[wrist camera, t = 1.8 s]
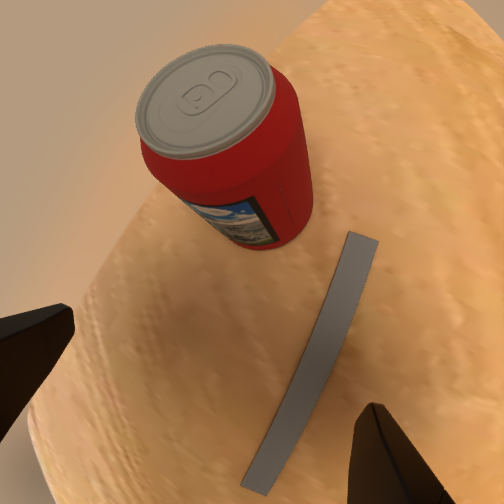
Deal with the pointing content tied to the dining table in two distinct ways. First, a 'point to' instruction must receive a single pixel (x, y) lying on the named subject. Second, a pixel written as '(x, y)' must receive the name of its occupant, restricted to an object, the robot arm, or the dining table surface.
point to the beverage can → (229, 143)
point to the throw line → (314, 363)
